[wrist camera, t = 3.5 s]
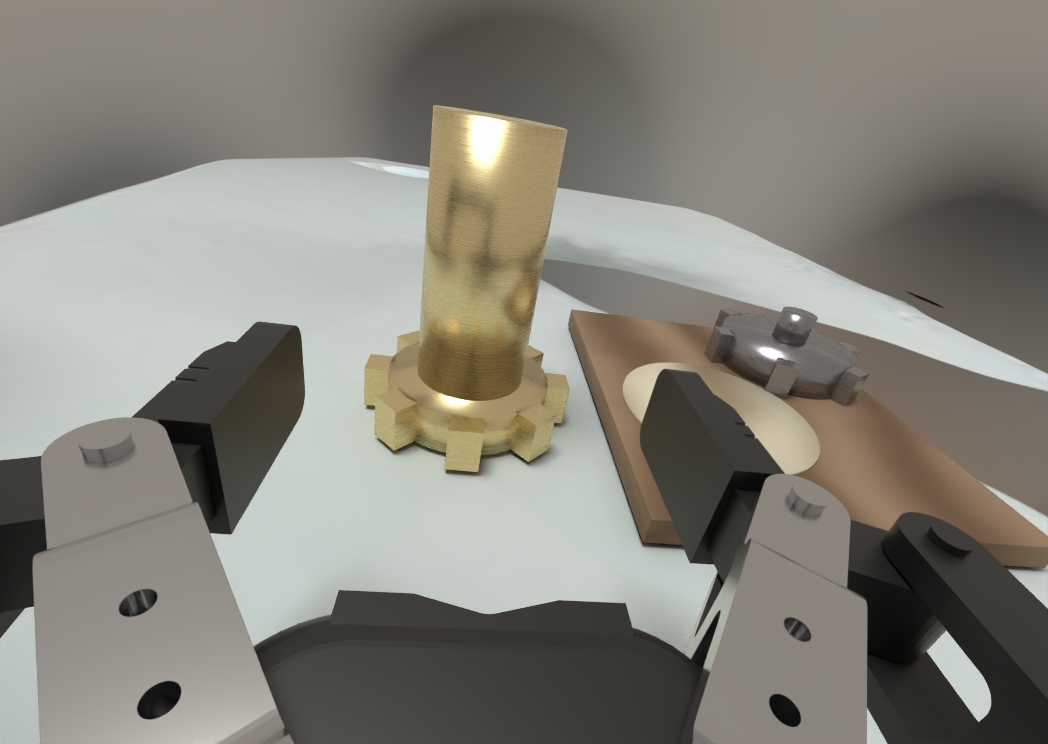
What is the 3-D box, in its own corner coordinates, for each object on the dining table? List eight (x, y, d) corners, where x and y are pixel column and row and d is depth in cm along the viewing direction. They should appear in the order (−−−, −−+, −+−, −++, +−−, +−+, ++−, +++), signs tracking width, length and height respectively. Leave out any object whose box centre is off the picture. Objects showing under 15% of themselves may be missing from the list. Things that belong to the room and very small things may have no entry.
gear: (737, 395, 28) (764, 334, 26) (683, 329, 35) (701, 279, 34) (887, 411, 29) (923, 355, 27) (803, 344, 37) (826, 296, 35)
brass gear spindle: (342, 461, 20) (331, 94, 13) (385, 351, 28) (392, 93, 22) (573, 479, 21) (663, 153, 15) (549, 369, 29) (599, 131, 23)
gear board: (642, 542, 18) (653, 516, 18) (568, 324, 36) (571, 307, 35) (1044, 568, 21) (1065, 546, 20) (791, 352, 38) (799, 336, 37)
